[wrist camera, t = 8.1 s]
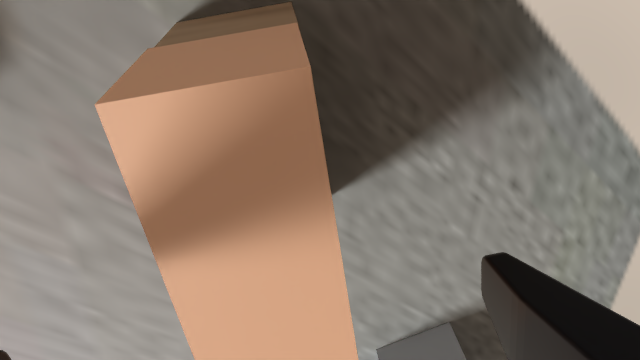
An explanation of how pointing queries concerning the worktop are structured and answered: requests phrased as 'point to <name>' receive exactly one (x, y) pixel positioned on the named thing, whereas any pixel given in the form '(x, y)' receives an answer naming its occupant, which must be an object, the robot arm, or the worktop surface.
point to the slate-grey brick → (425, 346)
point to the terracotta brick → (235, 194)
